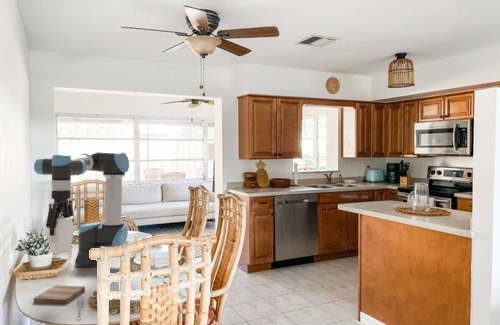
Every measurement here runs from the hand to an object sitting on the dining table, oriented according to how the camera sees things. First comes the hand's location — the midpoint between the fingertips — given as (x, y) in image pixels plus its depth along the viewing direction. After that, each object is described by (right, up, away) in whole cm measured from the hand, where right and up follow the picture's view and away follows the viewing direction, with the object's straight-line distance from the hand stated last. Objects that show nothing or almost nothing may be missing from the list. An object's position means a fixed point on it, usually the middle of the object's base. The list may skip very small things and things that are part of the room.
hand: (60, 240), depth 166 cm
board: (0, -25, 0) cm, 25 cm away
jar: (0, -5, 0) cm, 5 cm away
